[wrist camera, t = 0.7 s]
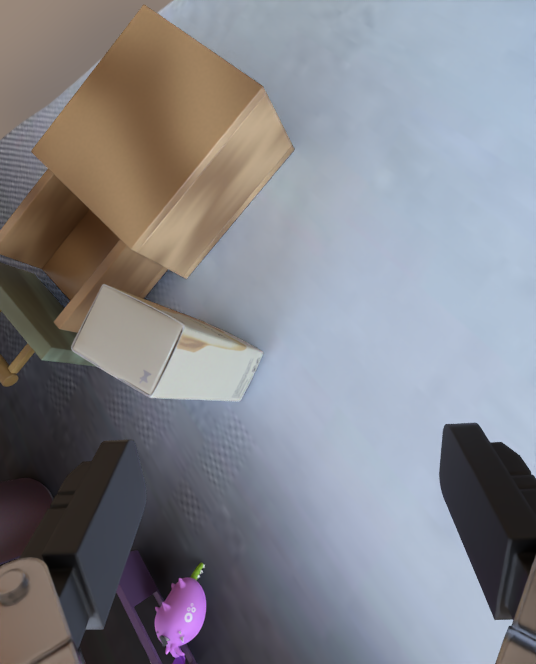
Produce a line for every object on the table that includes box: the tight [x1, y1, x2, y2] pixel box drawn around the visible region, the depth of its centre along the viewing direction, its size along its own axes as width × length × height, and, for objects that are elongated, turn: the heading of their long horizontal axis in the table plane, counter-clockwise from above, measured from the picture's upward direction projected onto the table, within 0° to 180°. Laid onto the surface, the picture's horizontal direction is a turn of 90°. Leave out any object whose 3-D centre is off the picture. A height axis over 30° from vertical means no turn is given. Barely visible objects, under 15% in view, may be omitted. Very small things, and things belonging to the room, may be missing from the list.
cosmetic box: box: [71, 284, 263, 402], centre depth 31 cm, size 6×4×12 cm
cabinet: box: [31, 5, 294, 279], centre depth 36 cm, size 13×12×8 cm
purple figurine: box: [116, 550, 206, 664], centre depth 32 cm, size 7×5×9 cm
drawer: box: [0, 169, 168, 387], centre depth 38 cm, size 17×11×6 cm, turn 138°
